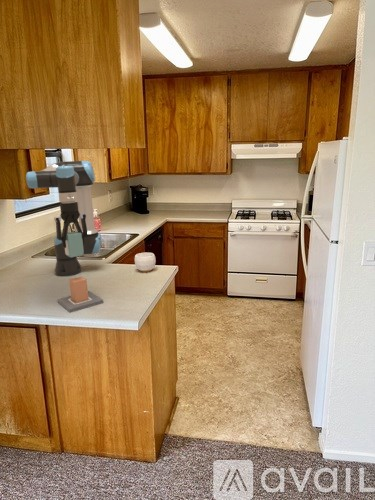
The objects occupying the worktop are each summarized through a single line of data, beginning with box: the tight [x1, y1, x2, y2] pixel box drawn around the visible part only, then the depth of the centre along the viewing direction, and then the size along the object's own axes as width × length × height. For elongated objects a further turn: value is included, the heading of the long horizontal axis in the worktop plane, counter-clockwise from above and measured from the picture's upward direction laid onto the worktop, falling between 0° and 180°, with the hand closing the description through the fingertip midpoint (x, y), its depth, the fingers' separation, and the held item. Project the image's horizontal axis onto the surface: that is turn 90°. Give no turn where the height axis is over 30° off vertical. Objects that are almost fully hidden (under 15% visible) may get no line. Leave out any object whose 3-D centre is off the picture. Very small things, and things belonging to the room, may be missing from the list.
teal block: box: [66, 231, 85, 257], centre depth 161 cm, size 6×6×10 cm
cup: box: [134, 252, 157, 273], centre depth 212 cm, size 12×12×10 cm
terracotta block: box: [68, 276, 89, 303], centre depth 166 cm, size 6×6×10 cm
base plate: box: [56, 290, 104, 313], centre depth 167 cm, size 16×16×2 cm
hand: (74, 252), depth 162 cm, fingers closed on teal block, 6 cm apart
